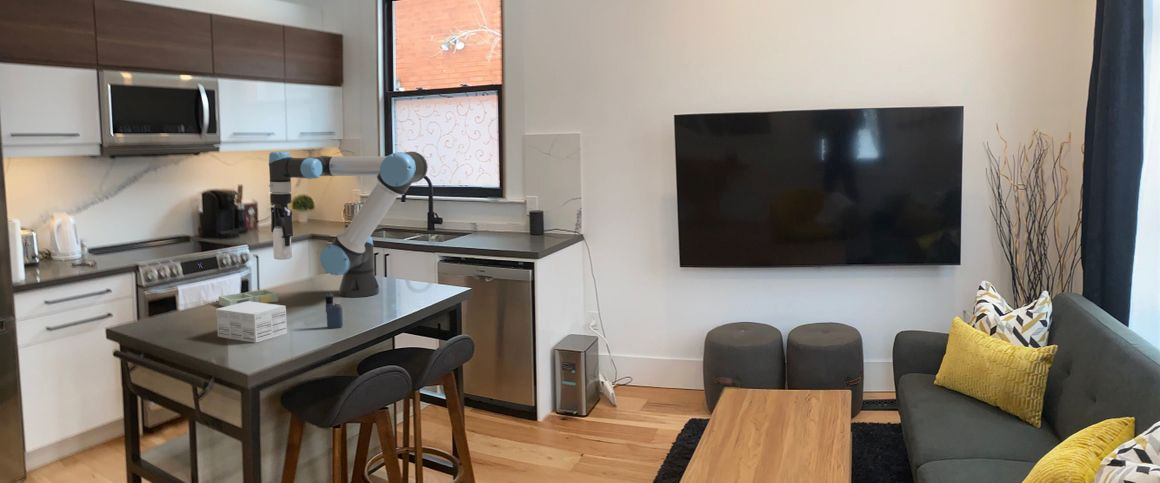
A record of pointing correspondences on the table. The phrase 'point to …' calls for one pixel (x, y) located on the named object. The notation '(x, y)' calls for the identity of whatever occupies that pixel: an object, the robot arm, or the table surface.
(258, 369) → the table surface
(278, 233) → the can
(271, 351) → the table surface
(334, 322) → the vaping device
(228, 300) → the socket board
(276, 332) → the supplement box
